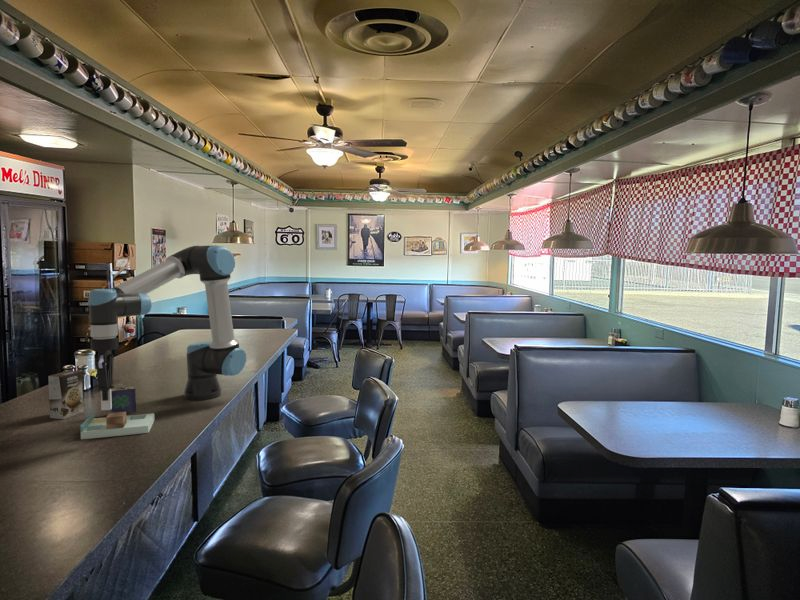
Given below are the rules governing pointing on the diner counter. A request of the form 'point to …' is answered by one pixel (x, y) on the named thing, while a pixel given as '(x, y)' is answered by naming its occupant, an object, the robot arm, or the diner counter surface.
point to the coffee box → (65, 394)
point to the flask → (123, 400)
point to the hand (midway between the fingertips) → (106, 409)
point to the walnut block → (116, 420)
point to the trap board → (99, 428)
